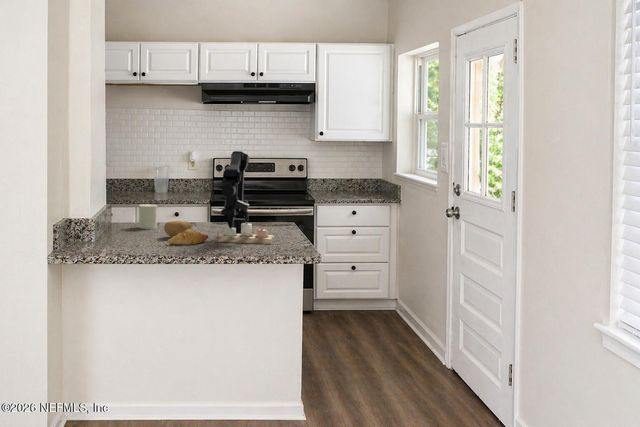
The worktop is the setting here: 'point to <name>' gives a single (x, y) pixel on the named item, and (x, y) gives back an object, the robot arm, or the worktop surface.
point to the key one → (230, 232)
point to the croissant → (188, 238)
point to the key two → (246, 229)
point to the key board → (245, 239)
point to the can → (148, 216)
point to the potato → (176, 227)
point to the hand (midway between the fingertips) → (230, 227)
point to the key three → (261, 233)
